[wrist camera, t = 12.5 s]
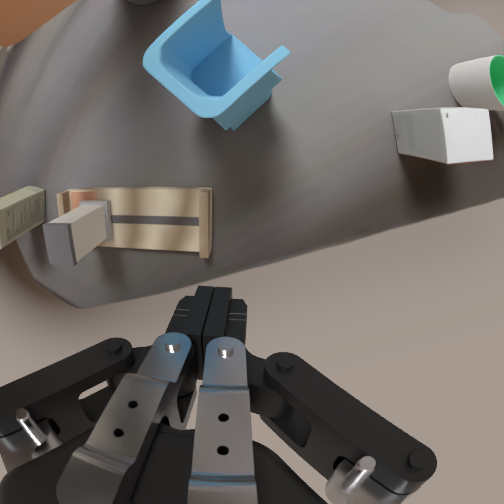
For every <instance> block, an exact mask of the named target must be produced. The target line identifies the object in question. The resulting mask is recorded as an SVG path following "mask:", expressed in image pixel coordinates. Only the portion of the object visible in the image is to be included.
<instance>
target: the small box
mask: <svg viewBox="0 0 504 504" xmlns="http://www.w3.org/2000/svg"><path fill="white" fill-rule="evenodd" d="M392 118H393V123H394V129H395V135H396V141H397V148H398V153H400V154H405V155H410V156H415V157H419V158H424V159H428V160H433V161H437V162H441V163H445V164H457V163H467V162H478V161H488V160H493V147H492V135H491V126H490V118H489V110H488V109H482V108H467V107H455V108H426V109H413V110H400V111H392Z"/></svg>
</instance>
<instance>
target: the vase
mask: <svg viewBox="0 0 504 504" xmlns="http://www.w3.org/2000/svg"><path fill="white" fill-rule="evenodd" d="M290 53H291V52H290V51H288V50H287V49H286V48H285V47H284V46H280V47H279V48H278V49H277V50H275V51H274V52H273V53H272V54H271V55H269V56H268V57H267V58H266V59H265V60H263V61H262V60H261V59H260V58H259V57H258V56H256V55H255V54H254V53H253V52H252V51H251V50H250V49H248V48H247V47H246V46H245V45H244V44H243V43H241V42H240V41H239V40H238V39H237V38H236V37H234V36H233V35H232V34H231V33H229V32H228V31H226V30H225V27H224V23H223V18H222V11H221V2H220V0H199V1H198V2H197V3H196V4H195V5H193V6H192V7H191V8H190V9H189V10H187V11H186V12H185V13H184V14H183V15H182V16H181V17H179V18H178V19H177V20H176V21H175V22H174V23H173V24H172V25H171V26H170V27H169V28H167V29H166V30H165V31H164V32H163V33H162V34H161V35H160V36H159V37H158V38H157V39H156V40H155V41H154V42H153V43H152V44H151V46H150V47H149V48H148V49H147V51H146V52H145V54H144V57H143V67H144V68H145V70H146V71H147V72H148V73H149V74H151V75H152V76H153V77H154V78H155V79H156V80H158V81H159V82H160V83H161V84H162V85H163V86H164V87H165V88H167V89H168V90H169V91H170V92H171V93H172V94H173V95H175V96H176V97H177V98H178V99H179V100H180V101H181V102H182V103H183V104H185V105H186V106H187V107H188V108H189V109H190V110H191V111H193V112H194V113H195V114H196V115H198V116H199V117H202V118H213V119H214V120H215V121H216V122H217V123H218V124H219V125H220V126H221V127H222V128H223V129H224V130H226V131H227V130H228V129H229V128H231V129H232V130H233V131H235V130H236V129H237V128H238V127H239V126H240V125H241V124H242V123H243V122H244V121H245V120H246V119H247V118H248V117H249V116H251V115H252V114H253V113H254V112H255V111H256V110H257V109H258V108H259V107H260V106H261V105H263V104H264V103H265V102H266V101H267V100H268V99H269V98H270V96H271V92H272V88H273V87H274V86H275V85H276V84H278V83H279V82H280V81H281V80H282V78H281V77H280V76H279V75H278V74H277V73H276V72H275V71H273V70H272V68H273V67H275V66H276V65H277V64H278V63H279V62H281V61H282V60H283V59H284V58H286V57H287V56H288V55H289V54H290Z"/></svg>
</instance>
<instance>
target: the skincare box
mask: <svg viewBox="0 0 504 504" xmlns="http://www.w3.org/2000/svg"><path fill="white" fill-rule="evenodd" d="M44 208H45V190H44V189H41V188H38V187H34V186H27V187H25V188H22V189H20V190H18V191H15V192H13V193H10V194H8V195H6V196H3V197H1V198H0V249H2V248H3V247H5V246H6V245H8V244H9V243H11V242H12V241H14V240H15V239H17V238H18V237H20V236H22V235H23V234H25V233H26V232H28V231H30V230H31V229H33V228H35V227H36V226H38V225H40V224H41V223H43V222H44Z"/></svg>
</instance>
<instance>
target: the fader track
mask: <svg viewBox="0 0 504 504" xmlns="http://www.w3.org/2000/svg"><path fill="white" fill-rule="evenodd" d="M82 200H110V211H111V222H112V231H113V239H112V240H111V241H103V242H101V243H100V244H99V245H98V246H100V247H119V248H137V249H156V250H174V251H193V252H199V253H200V258H208V257H209V255H210V252H211V250H212V188H211V187H112V188H84V189H68V190H66V191H63V192H61V193H58V194H57V204H58V212H59V217H60V216H62V215H64V214H66V213H68V212H70V211H72V210H73V209H75V208H77V207H79V202H80V201H82Z"/></svg>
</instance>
